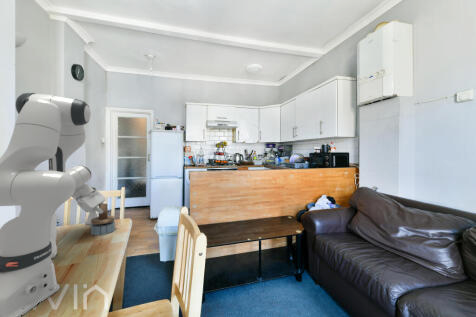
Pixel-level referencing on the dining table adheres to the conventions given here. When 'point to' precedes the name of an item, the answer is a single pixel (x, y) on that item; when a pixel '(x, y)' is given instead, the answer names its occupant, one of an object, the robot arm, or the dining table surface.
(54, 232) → the water bottle
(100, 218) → the walnut lid
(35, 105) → the robot arm
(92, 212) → the flask
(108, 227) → the slate-blue bowl
